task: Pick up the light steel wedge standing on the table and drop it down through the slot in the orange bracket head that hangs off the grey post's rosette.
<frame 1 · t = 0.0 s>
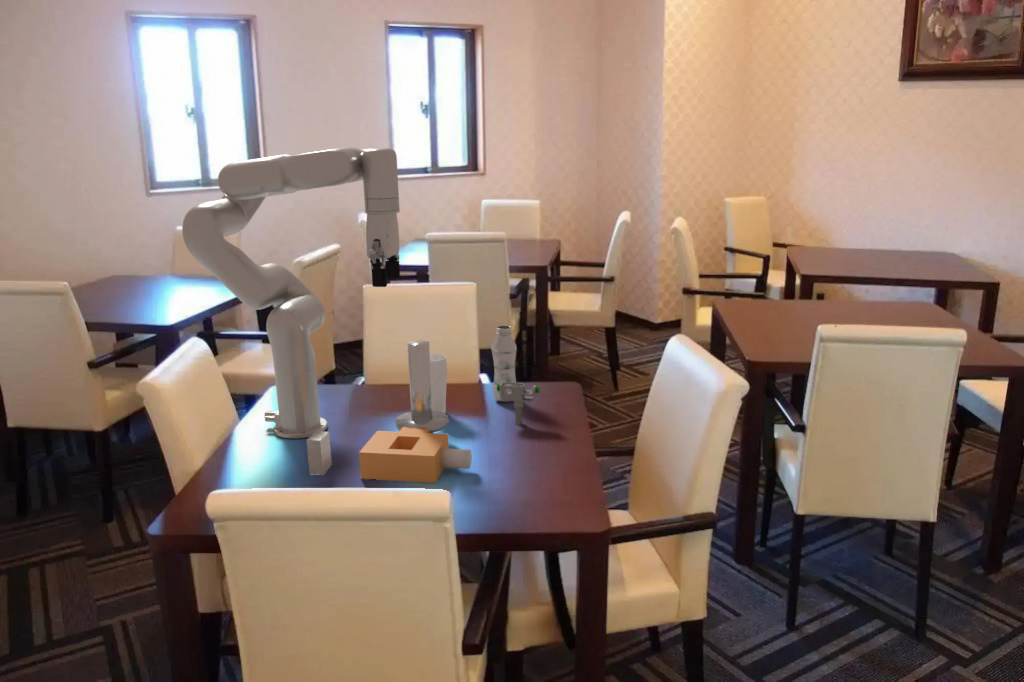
hand: (386, 282, 182), 37 cm above the table, tool pointing down, fingers open, 9 cm apart
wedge: (320, 470, 172), on the table
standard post: (423, 443, 186), on the table
plastic bottle: (505, 401, 213), on the table
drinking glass: (435, 414, 204), on the table
bracket head: (406, 468, 172), on the table
mechanical component: (518, 424, 197), on the table
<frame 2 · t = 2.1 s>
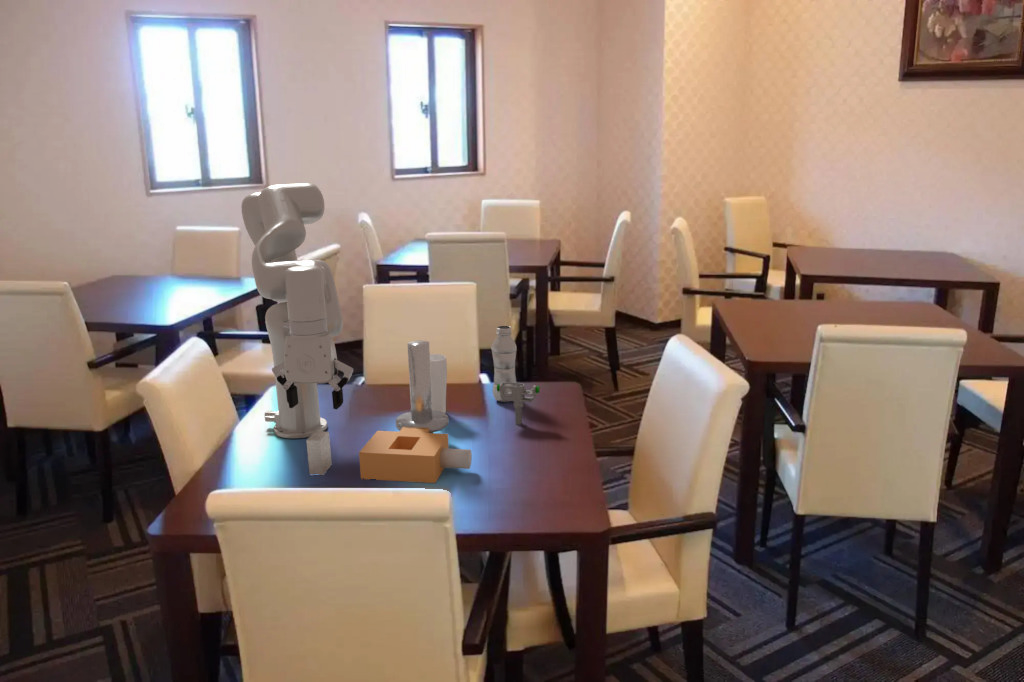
hand: (315, 406, 168), 15 cm above the table, tool pointing down, fingers open, 9 cm apart
nothing on the table moved.
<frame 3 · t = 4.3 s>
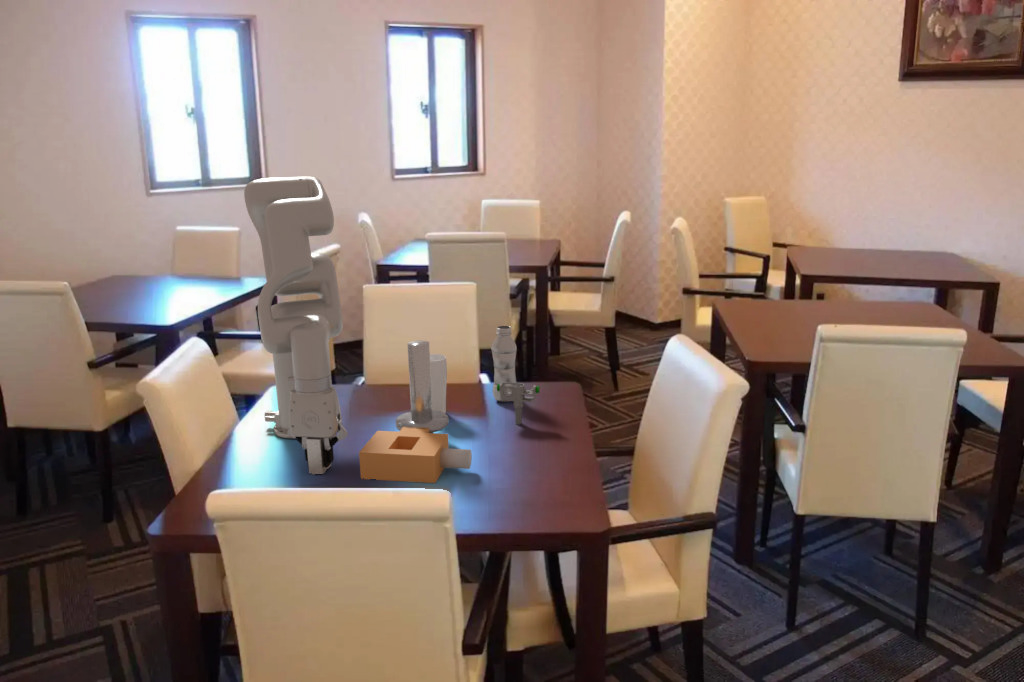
hand: (320, 463, 172), 2 cm above the table, tool pointing down, fingers closed on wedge, 3 cm apart
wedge: (320, 469, 173), on the table, touching gripper
everything else where it was.
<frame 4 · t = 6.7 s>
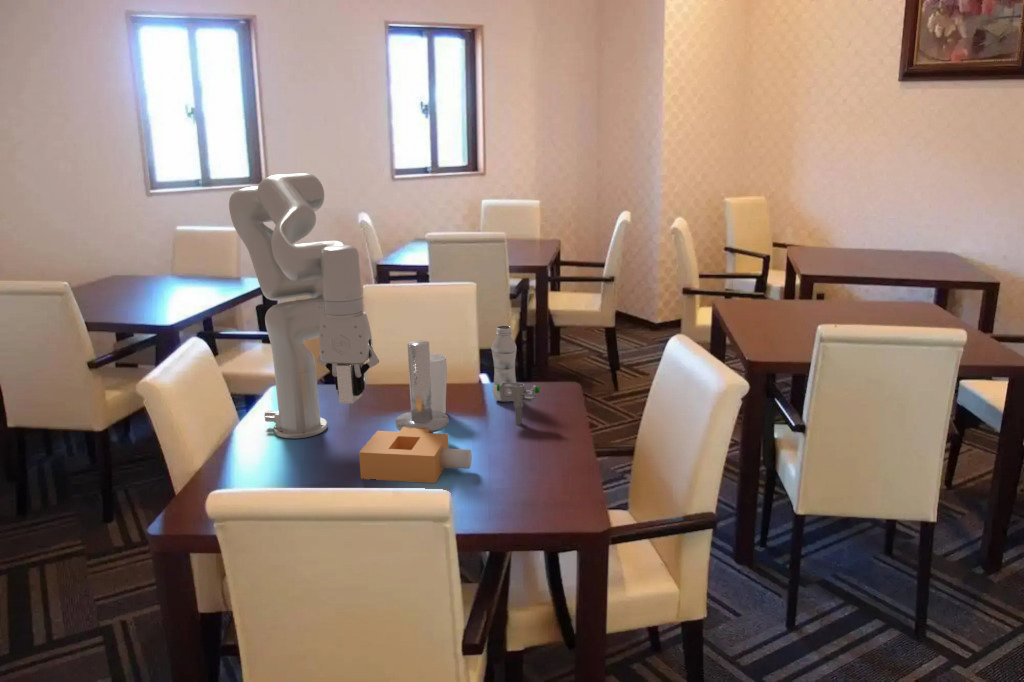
hand: (350, 392, 167), 18 cm above the table, tool pointing down, fingers closed on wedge, 3 cm apart
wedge: (350, 399, 168), point 16 cm above the table, touching gripper
everything else where it was.
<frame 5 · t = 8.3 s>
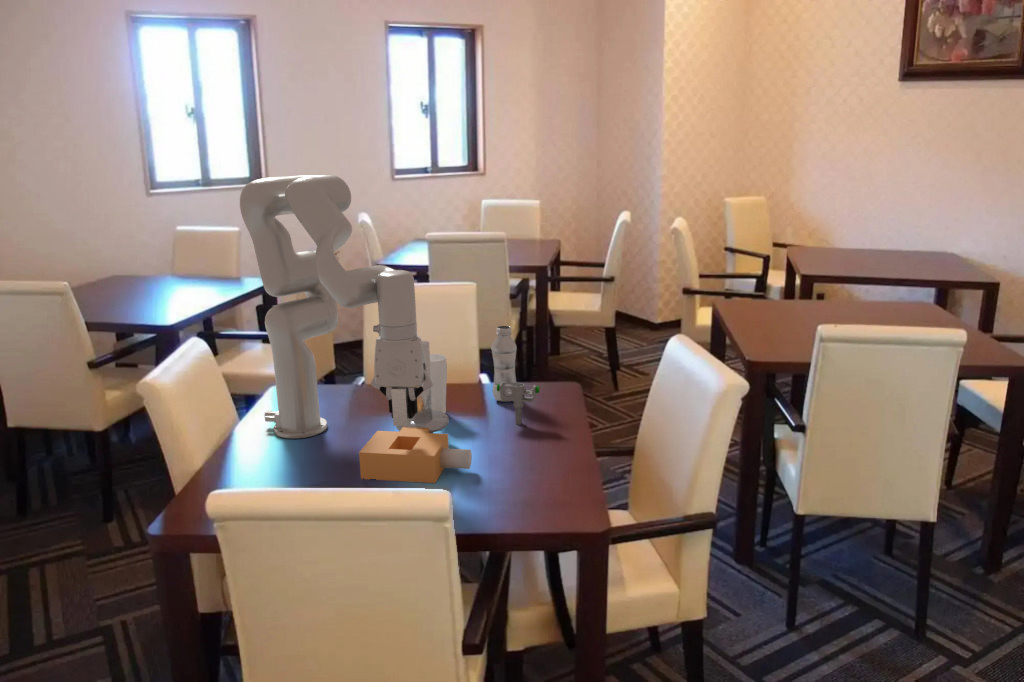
hand: (403, 415, 169), 12 cm above the table, tool pointing down, fingers closed on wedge, 3 cm apart
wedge: (404, 421, 169), point 11 cm above the table, touching gripper
everything else where it was.
when the fingers open (10 cm above the table, at t = 9.7 s): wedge drops 8 cm, resting in bracket head.
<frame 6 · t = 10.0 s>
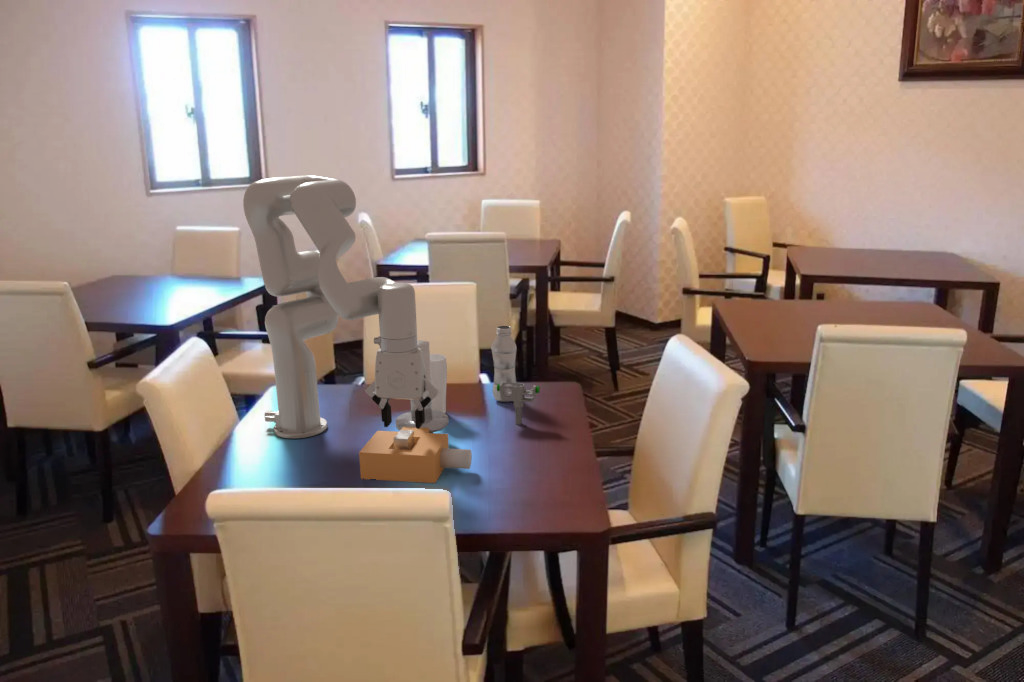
hand: (403, 424, 170), 10 cm above the table, tool pointing down, fingers open, 6 cm apart
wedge: (405, 469, 172), resting in bracket head
everything else where it was.
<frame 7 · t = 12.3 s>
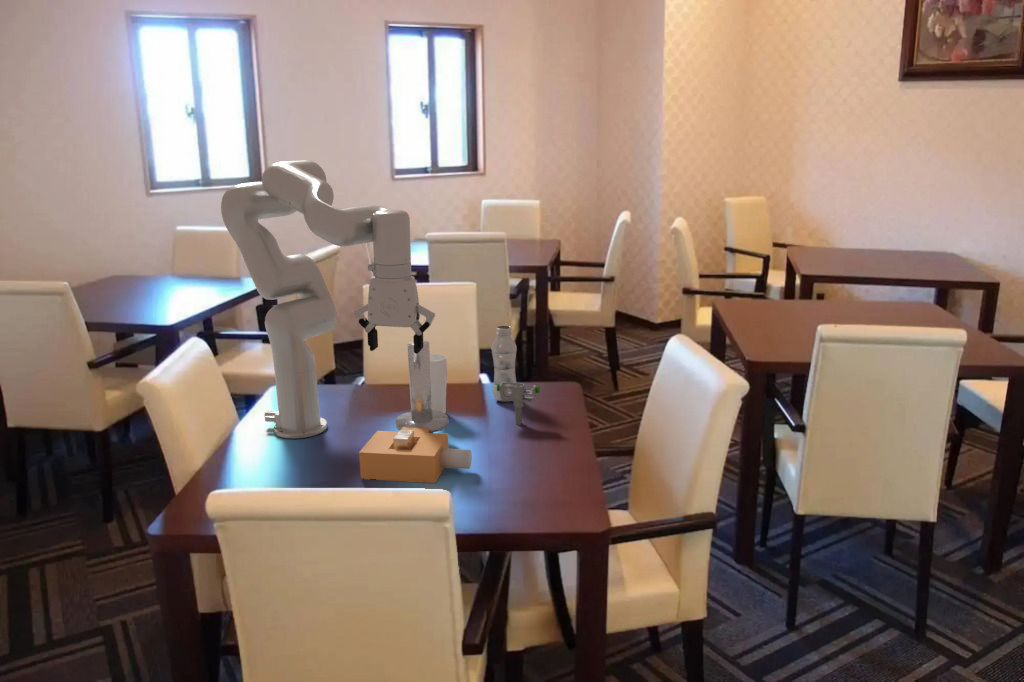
hand: (395, 350, 170), 25 cm above the table, tool pointing down, fingers open, 9 cm apart
nothing on the table moved.
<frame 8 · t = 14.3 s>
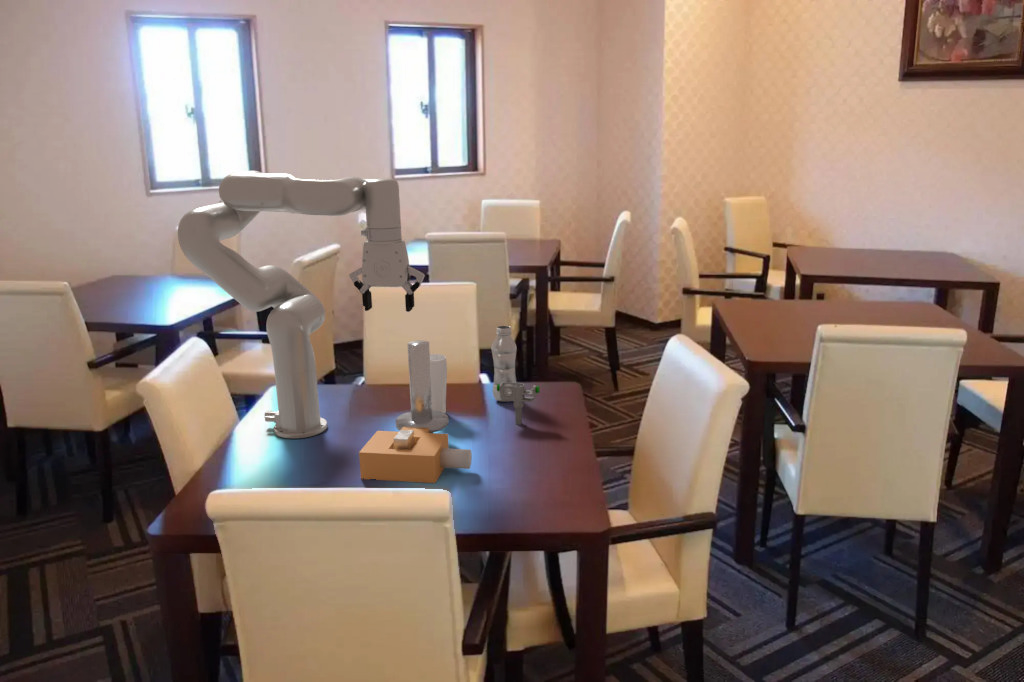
hand: (388, 309, 184), 30 cm above the table, tool pointing down, fingers open, 9 cm apart
nothing on the table moved.
at the end: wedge 0.1 cm off-centre on the bracket head, point 0.0 cm above the bracket head's base; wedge tilted 0°; the gripper is holding nothing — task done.
